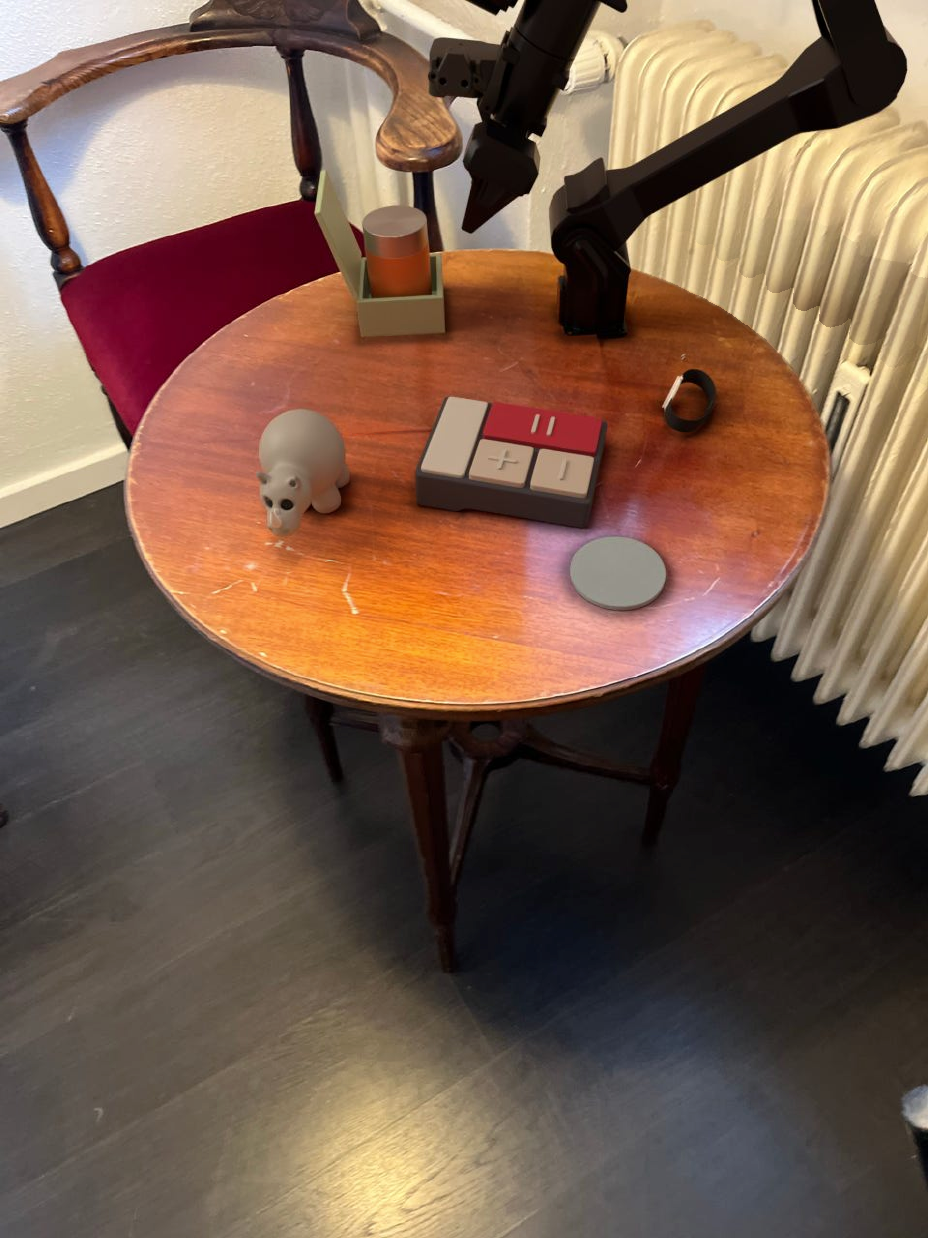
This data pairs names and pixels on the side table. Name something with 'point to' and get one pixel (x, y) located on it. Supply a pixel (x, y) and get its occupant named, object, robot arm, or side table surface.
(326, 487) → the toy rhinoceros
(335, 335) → the side table surface
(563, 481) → the button control panel
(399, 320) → the box
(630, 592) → the coaster
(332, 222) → the box lid
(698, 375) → the watch
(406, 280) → the can
